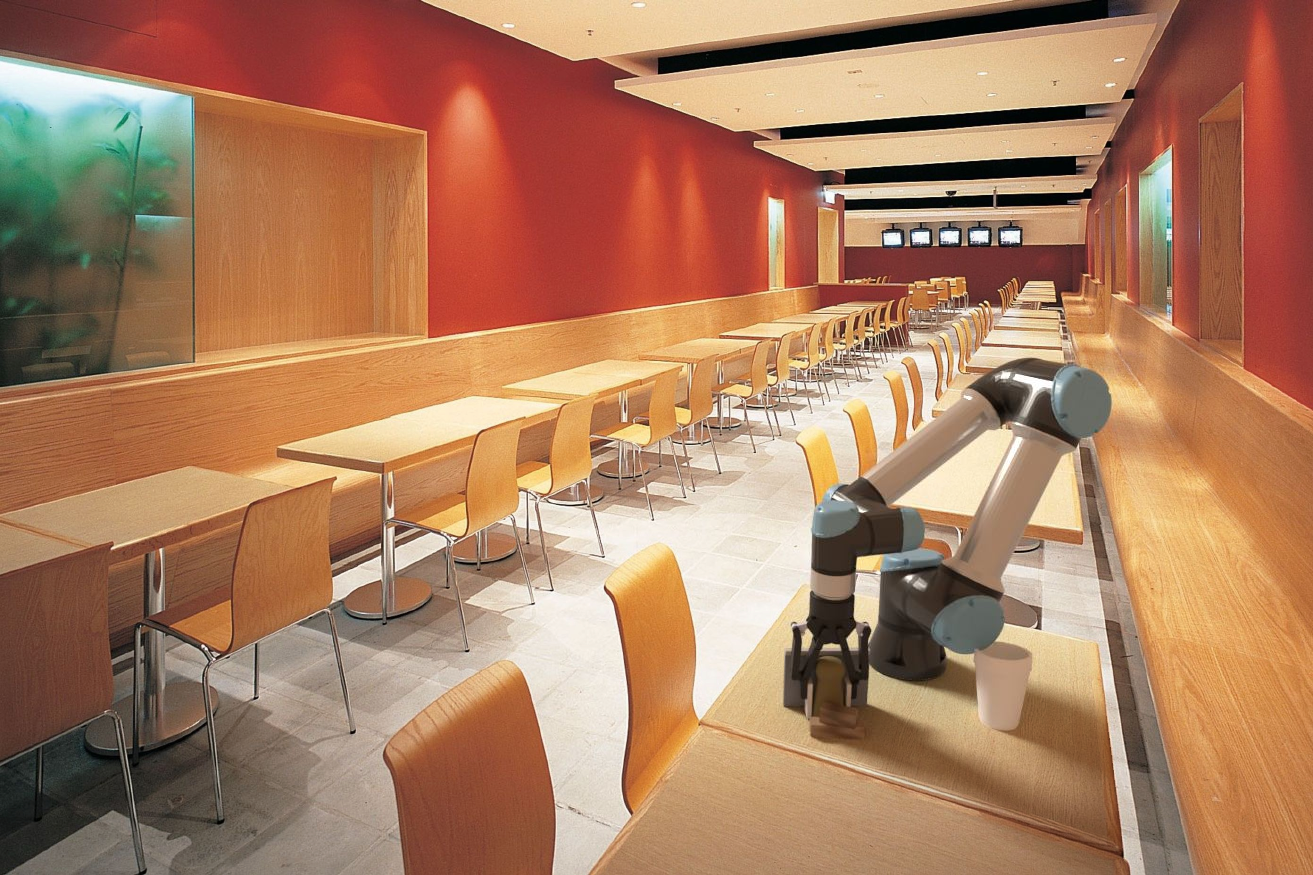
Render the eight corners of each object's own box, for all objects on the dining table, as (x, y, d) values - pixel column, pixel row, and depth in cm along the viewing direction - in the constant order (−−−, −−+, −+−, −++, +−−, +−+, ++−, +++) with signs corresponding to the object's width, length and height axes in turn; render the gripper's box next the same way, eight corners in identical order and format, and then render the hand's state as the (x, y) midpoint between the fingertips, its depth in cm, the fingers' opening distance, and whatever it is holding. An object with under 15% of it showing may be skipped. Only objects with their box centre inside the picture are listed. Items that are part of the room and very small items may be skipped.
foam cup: (1037, 734, 146) (1043, 661, 144) (984, 735, 145) (989, 661, 144) (1011, 710, 155) (1015, 640, 154) (961, 711, 155) (965, 641, 153)
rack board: (865, 702, 156) (868, 647, 154) (867, 705, 155) (870, 650, 153) (782, 702, 156) (784, 648, 154) (783, 706, 155) (785, 651, 152)
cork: (803, 711, 153) (805, 655, 150) (832, 704, 155) (835, 648, 153) (822, 729, 147) (825, 670, 145) (852, 721, 150) (855, 664, 147)
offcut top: (857, 721, 146) (858, 708, 145) (854, 729, 144) (855, 715, 143) (822, 714, 148) (822, 701, 148) (819, 721, 146) (819, 708, 145)
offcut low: (862, 732, 147) (863, 719, 147) (864, 740, 145) (865, 727, 144) (809, 729, 148) (809, 716, 148) (810, 738, 146) (810, 724, 145)
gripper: (882, 582, 150) (876, 703, 155) (773, 583, 150) (770, 703, 155) (894, 600, 143) (886, 726, 148) (779, 600, 143) (775, 725, 148)
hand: (827, 714), depth 152 cm, fingers closed on cork, 6 cm apart
